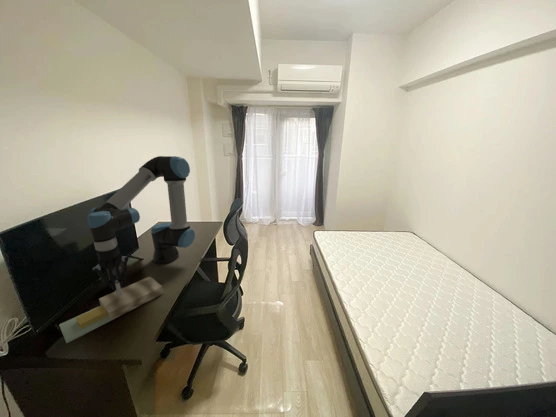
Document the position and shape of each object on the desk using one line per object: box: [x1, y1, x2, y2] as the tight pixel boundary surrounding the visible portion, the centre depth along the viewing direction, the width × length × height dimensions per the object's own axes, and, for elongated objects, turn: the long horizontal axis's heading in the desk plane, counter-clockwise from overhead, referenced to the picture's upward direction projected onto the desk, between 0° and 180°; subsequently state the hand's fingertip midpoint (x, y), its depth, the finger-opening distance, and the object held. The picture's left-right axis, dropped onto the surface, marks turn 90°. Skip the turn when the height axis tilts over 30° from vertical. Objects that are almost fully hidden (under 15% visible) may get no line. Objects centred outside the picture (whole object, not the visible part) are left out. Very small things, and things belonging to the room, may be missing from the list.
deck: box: [98, 276, 165, 321], centre depth 104 cm, size 22×14×4 cm, turn 142°
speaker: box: [106, 267, 124, 289], centre depth 113 cm, size 8×6×10 cm
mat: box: [58, 305, 112, 344], centre depth 91 cm, size 14×14×1 cm
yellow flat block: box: [76, 305, 108, 329], centre depth 93 cm, size 9×6×2 cm, turn 142°
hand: (119, 294), depth 100 cm, fingers closed
